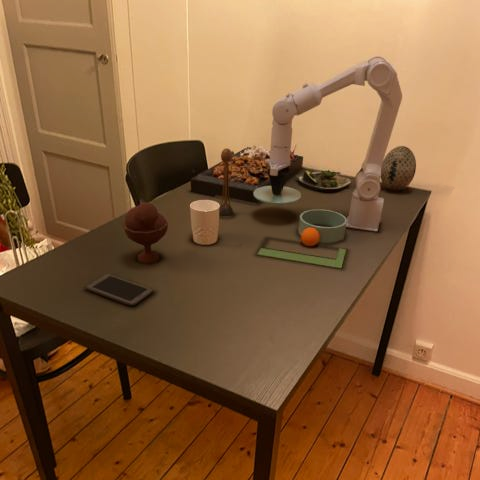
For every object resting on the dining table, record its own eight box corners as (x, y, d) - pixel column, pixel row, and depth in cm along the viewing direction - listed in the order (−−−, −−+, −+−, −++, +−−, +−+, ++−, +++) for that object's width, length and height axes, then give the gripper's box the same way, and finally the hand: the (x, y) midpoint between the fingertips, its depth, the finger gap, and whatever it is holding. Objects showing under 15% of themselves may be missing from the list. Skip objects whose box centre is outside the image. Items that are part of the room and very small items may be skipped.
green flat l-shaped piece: (346, 250, 128) (346, 249, 127) (341, 268, 119) (341, 267, 119) (267, 238, 132) (267, 237, 132) (257, 255, 124) (257, 254, 123)
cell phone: (107, 275, 112) (107, 273, 112) (154, 292, 107) (153, 289, 106) (85, 289, 107) (84, 286, 107) (132, 307, 102) (132, 304, 101)
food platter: (245, 158, 194) (246, 132, 188) (302, 167, 186) (305, 140, 180) (190, 191, 161) (190, 161, 155) (256, 204, 152) (258, 173, 146)
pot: (346, 228, 139) (349, 212, 137) (341, 247, 129) (344, 230, 126) (302, 222, 142) (304, 206, 139) (294, 240, 132) (295, 223, 129)
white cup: (215, 247, 127) (215, 212, 121) (187, 244, 128) (186, 209, 122) (222, 235, 133) (222, 201, 127) (195, 232, 134) (194, 198, 128)
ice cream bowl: (176, 252, 124) (173, 197, 115) (157, 271, 115) (152, 213, 106) (140, 245, 126) (135, 190, 118) (118, 263, 118) (111, 206, 109)
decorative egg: (372, 190, 167) (380, 147, 158) (382, 181, 175) (391, 140, 166) (405, 197, 162) (415, 153, 153) (414, 188, 170) (424, 145, 162)
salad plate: (321, 171, 183) (323, 159, 180) (360, 183, 173) (362, 171, 170) (289, 182, 172) (290, 169, 169) (328, 195, 161) (330, 182, 159)
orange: (313, 252, 127) (319, 242, 130) (317, 237, 123) (323, 227, 126) (296, 245, 128) (303, 236, 131) (300, 231, 124) (306, 221, 128)
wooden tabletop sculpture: (225, 209, 148) (226, 144, 137) (237, 213, 146) (239, 147, 135) (214, 215, 144) (215, 148, 133) (227, 219, 142) (228, 151, 131)
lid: (304, 192, 144) (306, 177, 142) (295, 208, 133) (297, 192, 130) (260, 186, 147) (260, 171, 145) (247, 202, 136) (248, 186, 134)
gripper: (273, 137, 138) (270, 183, 146) (260, 150, 127) (258, 199, 135) (296, 140, 137) (292, 186, 144) (286, 153, 125) (282, 202, 133)
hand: (277, 192), depth 139 cm, fingers closed on lid, 2 cm apart
